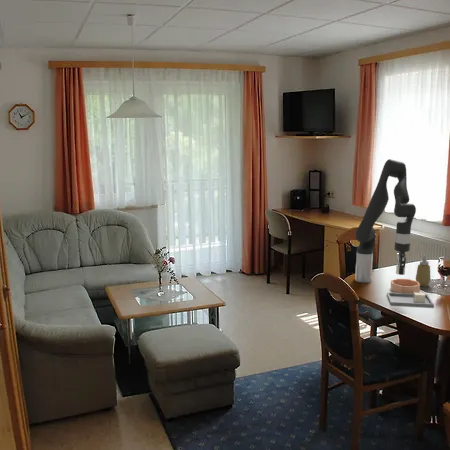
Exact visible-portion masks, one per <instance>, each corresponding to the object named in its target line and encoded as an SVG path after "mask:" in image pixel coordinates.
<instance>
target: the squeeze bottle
mask: <svg viewBox="0 0 450 450" xmlns="http://www.w3.org/2000/svg"><path fill="white" fill-rule="evenodd" d="M429 262H430V261H428V260H427V255H426V254H424V255H423V256H422V259H421V260H420V261H419V264H417V269H416V275H415V281H417V282H419V284H420V287H428V286H429V284H430V282H431V265H430V264H429Z"/></svg>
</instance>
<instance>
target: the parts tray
mask: <svg viewBox="0 0 450 450" xmlns="http://www.w3.org/2000/svg"><path fill="white" fill-rule="evenodd" d="M424 294H425V303H420V302H414V300H413V298H414V294H410V293H396V292H390V291H389V292H386V297H387V300H388V301H389V304H390V305H391V306H405V307H410V306H411V307H422V308H423V307H426V308H434V307H435V304H434V302H433V301H432V299H431V298H430V295H429V294H427V293H424Z"/></svg>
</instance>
